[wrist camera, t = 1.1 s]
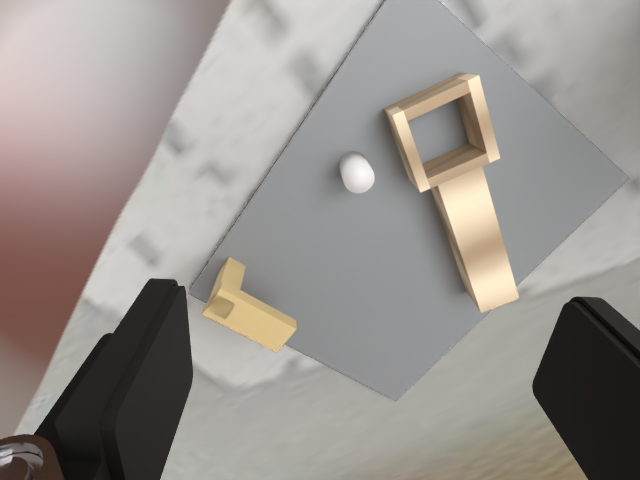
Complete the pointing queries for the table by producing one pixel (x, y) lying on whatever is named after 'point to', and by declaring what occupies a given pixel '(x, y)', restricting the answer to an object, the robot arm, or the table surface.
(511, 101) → the slate base
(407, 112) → the wooden link
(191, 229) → the table surface
